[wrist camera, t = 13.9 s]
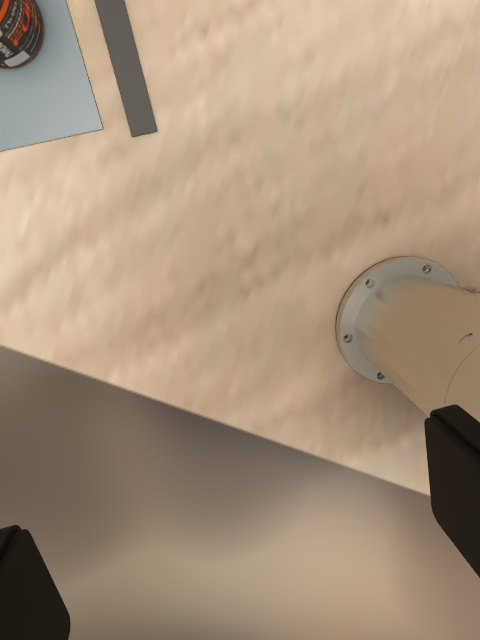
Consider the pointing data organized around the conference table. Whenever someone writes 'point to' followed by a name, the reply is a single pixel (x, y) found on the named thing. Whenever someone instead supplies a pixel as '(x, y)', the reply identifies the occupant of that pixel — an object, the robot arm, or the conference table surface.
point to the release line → (126, 66)
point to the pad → (48, 87)
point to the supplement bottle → (19, 32)
